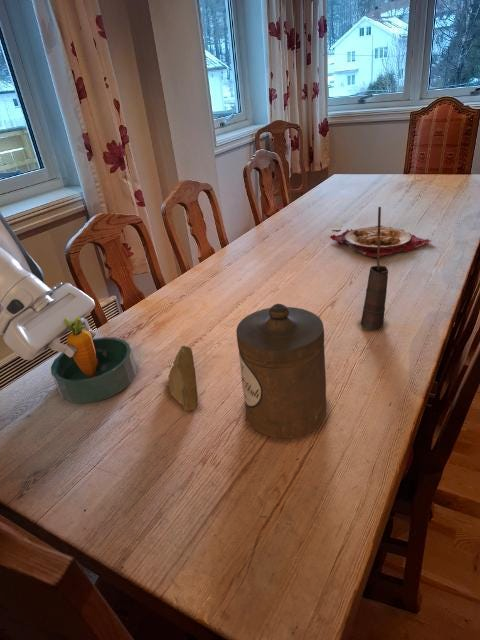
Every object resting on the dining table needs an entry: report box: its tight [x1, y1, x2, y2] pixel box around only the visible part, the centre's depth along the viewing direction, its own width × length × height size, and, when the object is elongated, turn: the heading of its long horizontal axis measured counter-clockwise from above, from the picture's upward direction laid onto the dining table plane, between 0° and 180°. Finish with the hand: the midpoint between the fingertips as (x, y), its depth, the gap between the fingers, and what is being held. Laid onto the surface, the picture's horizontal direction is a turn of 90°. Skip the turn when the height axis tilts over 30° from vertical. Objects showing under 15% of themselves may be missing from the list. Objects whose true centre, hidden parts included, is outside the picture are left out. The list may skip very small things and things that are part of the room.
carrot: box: [64, 316, 96, 378], centre depth 89 cm, size 5×5×15 cm
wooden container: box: [235, 303, 327, 439], centre depth 74 cm, size 15×15×22 cm
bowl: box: [50, 336, 137, 404], centre depth 93 cm, size 17×17×6 cm
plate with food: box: [329, 225, 433, 258], centre depth 149 cm, size 24×26×4 cm
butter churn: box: [360, 206, 389, 331], centre depth 95 cm, size 9×10×28 cm
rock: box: [166, 345, 199, 412], centre depth 85 cm, size 11×9×10 cm
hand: (83, 345), depth 88 cm, fingers closed on carrot, 5 cm apart
